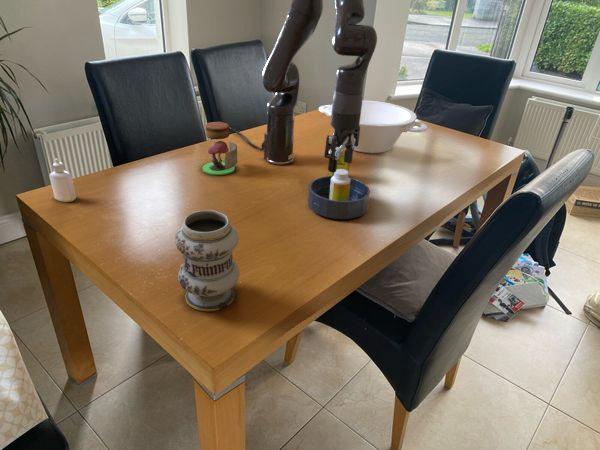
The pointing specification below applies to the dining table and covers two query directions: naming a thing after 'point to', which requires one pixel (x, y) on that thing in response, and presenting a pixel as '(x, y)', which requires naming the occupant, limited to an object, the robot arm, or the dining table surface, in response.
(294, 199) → the dining table surface
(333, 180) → the supplement bottle
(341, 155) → the supplement box
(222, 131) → the mushroom terrarium
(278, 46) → the robot arm
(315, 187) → the bowl
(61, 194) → the eye dropper bottle
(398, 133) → the white wash basin
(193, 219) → the apothecary jar
